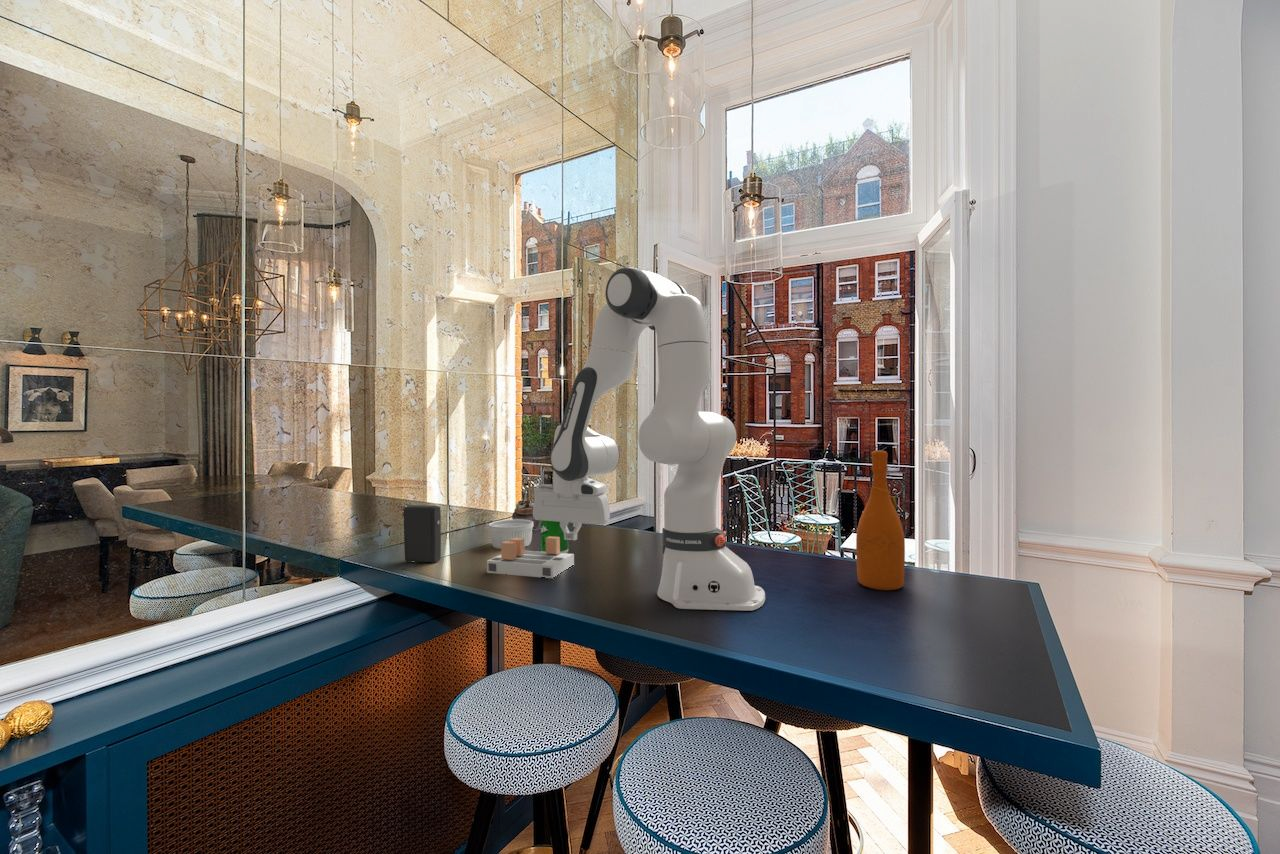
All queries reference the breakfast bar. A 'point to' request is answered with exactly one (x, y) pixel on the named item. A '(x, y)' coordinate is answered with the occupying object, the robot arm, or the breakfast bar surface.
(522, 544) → the slider middle
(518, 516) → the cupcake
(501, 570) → the white base
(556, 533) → the soda can
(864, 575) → the wine bottle
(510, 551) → the slider near
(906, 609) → the breakfast bar surface
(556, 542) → the slider far
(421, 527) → the card reader
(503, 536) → the ramekin
